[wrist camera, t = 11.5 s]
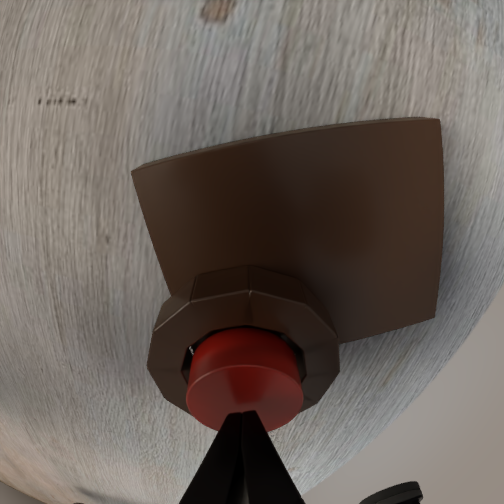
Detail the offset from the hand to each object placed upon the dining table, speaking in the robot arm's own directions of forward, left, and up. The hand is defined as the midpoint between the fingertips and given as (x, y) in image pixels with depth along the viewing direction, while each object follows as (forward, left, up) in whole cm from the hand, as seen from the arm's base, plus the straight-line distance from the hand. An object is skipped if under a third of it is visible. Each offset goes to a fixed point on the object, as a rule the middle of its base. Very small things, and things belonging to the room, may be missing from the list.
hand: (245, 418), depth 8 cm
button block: (-2, -2, -5) cm, 6 cm away
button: (0, 0, -2) cm, 2 cm away
